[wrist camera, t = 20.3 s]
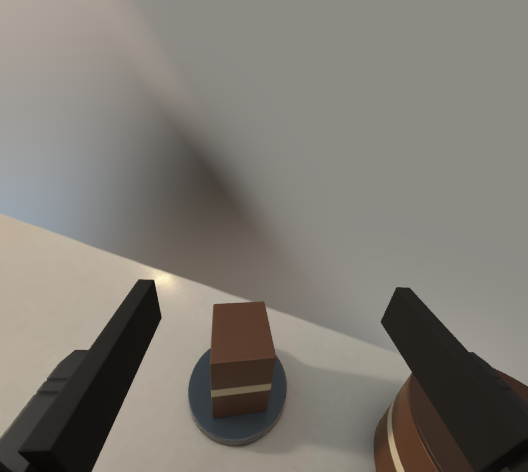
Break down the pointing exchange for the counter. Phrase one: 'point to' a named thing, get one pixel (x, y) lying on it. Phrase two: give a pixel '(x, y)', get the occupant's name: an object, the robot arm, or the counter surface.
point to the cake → (422, 434)
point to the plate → (237, 426)
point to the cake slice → (240, 359)
